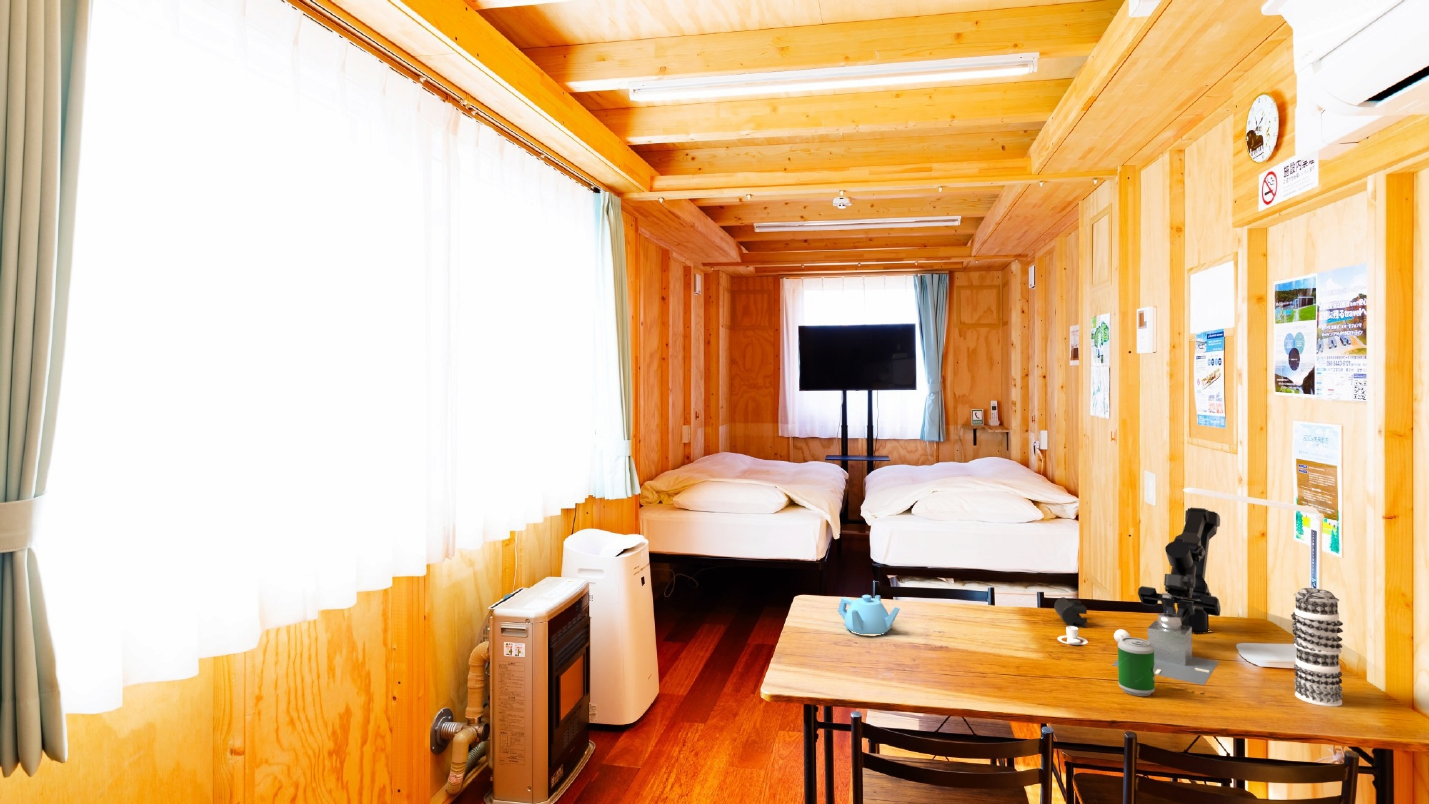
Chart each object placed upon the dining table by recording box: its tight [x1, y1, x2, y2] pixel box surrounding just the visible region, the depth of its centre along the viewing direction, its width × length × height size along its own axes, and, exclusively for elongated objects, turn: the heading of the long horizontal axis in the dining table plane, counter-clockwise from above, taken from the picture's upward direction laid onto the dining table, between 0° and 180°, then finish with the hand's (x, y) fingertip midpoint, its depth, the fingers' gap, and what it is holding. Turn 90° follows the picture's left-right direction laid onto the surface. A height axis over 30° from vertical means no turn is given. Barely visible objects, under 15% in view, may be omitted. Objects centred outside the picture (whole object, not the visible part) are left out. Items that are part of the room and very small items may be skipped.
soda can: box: [1117, 636, 1156, 697], centre depth 173 cm, size 8×8×12 cm
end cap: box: [1053, 596, 1088, 629], centre depth 225 cm, size 10×7×7 cm
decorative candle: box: [1290, 587, 1344, 708], centre depth 166 cm, size 9×9×25 cm
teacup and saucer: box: [1057, 625, 1089, 646], centre depth 209 cm, size 9×8×4 cm
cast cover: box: [1147, 612, 1193, 666], centre depth 191 cm, size 8×8×11 cm
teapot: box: [837, 594, 901, 634], centre depth 222 cm, size 15×15×11 cm
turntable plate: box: [1111, 628, 1219, 686], centre depth 187 cm, size 20×20×10 cm
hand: (1173, 627), depth 195 cm, fingers closed
